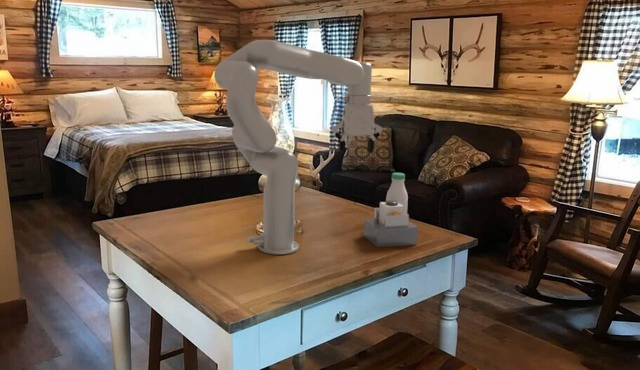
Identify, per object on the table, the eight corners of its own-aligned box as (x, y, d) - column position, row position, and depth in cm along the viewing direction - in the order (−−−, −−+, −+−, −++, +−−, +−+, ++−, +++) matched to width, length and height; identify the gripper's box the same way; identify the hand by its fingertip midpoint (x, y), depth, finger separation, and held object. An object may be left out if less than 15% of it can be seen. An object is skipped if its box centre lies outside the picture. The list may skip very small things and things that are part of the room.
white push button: (385, 226, 178) (386, 204, 177) (378, 220, 184) (380, 199, 183) (402, 225, 180) (404, 203, 178) (395, 219, 186) (396, 199, 184)
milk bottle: (405, 232, 192) (409, 176, 188) (383, 230, 194) (386, 175, 189) (406, 226, 200) (410, 172, 195) (385, 224, 201) (388, 170, 197)
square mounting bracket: (376, 247, 176) (378, 215, 174) (363, 235, 187) (365, 205, 185) (422, 244, 180) (424, 213, 178) (407, 233, 192) (409, 203, 189)
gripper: (336, 101, 173) (334, 154, 177) (387, 101, 178) (384, 153, 182) (330, 99, 180) (328, 151, 184) (379, 100, 185) (376, 150, 189)
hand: (356, 152), depth 183 cm, fingers open, 9 cm apart
